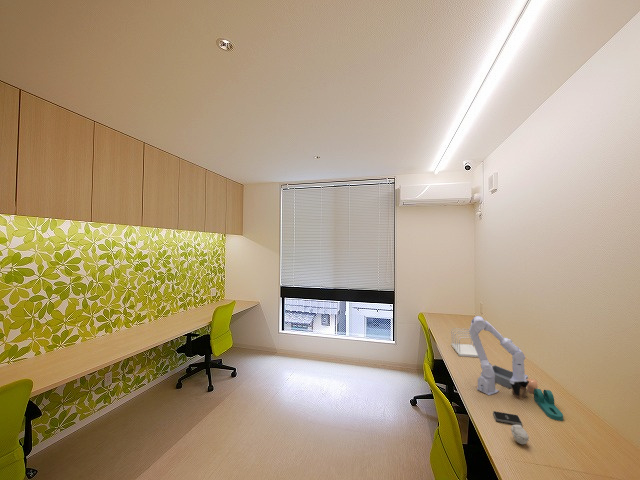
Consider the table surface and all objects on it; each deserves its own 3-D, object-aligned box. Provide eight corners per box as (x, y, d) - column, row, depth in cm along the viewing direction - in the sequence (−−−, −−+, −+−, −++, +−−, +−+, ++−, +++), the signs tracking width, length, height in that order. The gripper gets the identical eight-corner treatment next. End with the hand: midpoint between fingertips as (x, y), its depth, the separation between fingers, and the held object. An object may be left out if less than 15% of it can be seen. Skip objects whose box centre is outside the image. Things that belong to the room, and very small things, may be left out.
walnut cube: (522, 399, 151) (521, 390, 151) (512, 394, 156) (512, 386, 156) (527, 397, 153) (526, 388, 154) (517, 392, 158) (517, 384, 158)
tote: (510, 388, 162) (509, 380, 163) (482, 376, 178) (482, 369, 179) (523, 383, 168) (522, 375, 168) (495, 372, 184) (494, 365, 184)
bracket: (534, 400, 150) (533, 386, 151) (548, 402, 148) (547, 388, 149) (549, 419, 133) (548, 403, 134) (566, 422, 131) (565, 406, 132)
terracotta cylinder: (535, 395, 155) (534, 383, 155) (525, 391, 159) (524, 379, 160) (539, 393, 157) (539, 381, 157) (530, 389, 161) (529, 377, 162)
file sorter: (483, 358, 208) (482, 338, 209) (459, 356, 212) (458, 337, 213) (472, 346, 233) (471, 328, 233) (450, 345, 237) (450, 327, 237)
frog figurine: (520, 436, 122) (519, 421, 122) (533, 448, 115) (532, 431, 115) (507, 437, 122) (507, 421, 122) (519, 448, 115) (519, 432, 115)
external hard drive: (492, 414, 139) (492, 410, 139) (518, 419, 135) (517, 415, 135) (496, 423, 132) (496, 418, 132) (522, 427, 128) (522, 423, 128)
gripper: (518, 375, 149) (519, 400, 148) (533, 370, 154) (534, 393, 154) (505, 370, 155) (506, 394, 154) (520, 365, 161) (521, 388, 160)
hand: (519, 393), depth 155 cm, fingers closed on walnut cube, 5 cm apart
